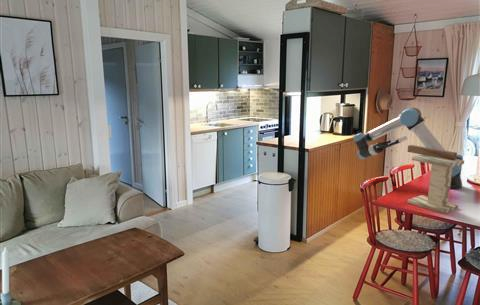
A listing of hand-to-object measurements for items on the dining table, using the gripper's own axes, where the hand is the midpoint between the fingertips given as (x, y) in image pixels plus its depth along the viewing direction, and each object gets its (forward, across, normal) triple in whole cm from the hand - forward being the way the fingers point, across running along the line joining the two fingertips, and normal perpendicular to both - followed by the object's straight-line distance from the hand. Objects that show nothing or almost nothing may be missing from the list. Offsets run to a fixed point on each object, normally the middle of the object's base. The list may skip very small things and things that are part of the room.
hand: (401, 138), depth 250 cm
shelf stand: (+14, +18, -47) cm, 52 cm away
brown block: (+22, +13, -18) cm, 32 cm away
